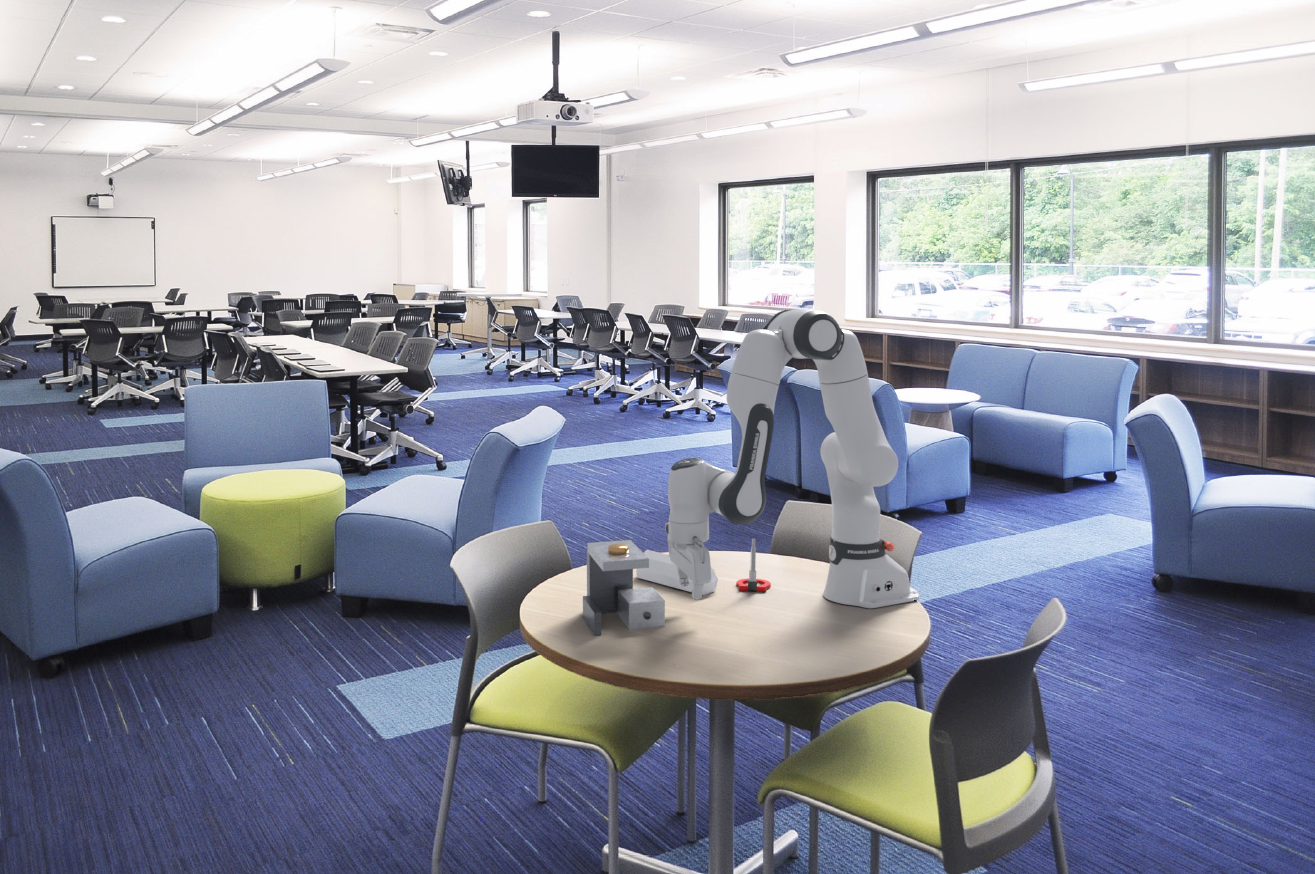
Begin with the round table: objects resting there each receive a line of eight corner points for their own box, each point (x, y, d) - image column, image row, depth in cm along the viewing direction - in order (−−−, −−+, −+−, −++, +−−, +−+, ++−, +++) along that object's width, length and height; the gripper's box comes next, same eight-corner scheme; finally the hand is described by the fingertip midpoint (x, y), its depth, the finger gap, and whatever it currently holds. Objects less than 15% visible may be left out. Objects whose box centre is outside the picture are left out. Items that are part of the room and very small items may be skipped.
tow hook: (737, 582, 265) (734, 591, 256) (738, 531, 263) (735, 539, 254) (771, 583, 263) (769, 593, 254) (772, 532, 262) (771, 540, 253)
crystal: (625, 564, 265) (699, 584, 249) (642, 546, 269) (715, 564, 253) (635, 586, 268) (708, 606, 253) (652, 567, 272) (725, 586, 257)
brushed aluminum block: (652, 612, 240) (652, 587, 239) (665, 627, 230) (665, 601, 229) (618, 615, 238) (618, 590, 237) (629, 631, 228) (629, 604, 227)
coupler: (629, 606, 244) (629, 533, 241) (648, 630, 228) (649, 553, 225) (578, 610, 241) (577, 537, 238) (594, 635, 225) (593, 557, 222)
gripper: (717, 542, 225) (719, 604, 228) (688, 520, 245) (690, 577, 247) (689, 545, 224) (691, 607, 226) (662, 522, 243) (664, 580, 245)
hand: (690, 591), depth 237 cm, fingers open, 8 cm apart
